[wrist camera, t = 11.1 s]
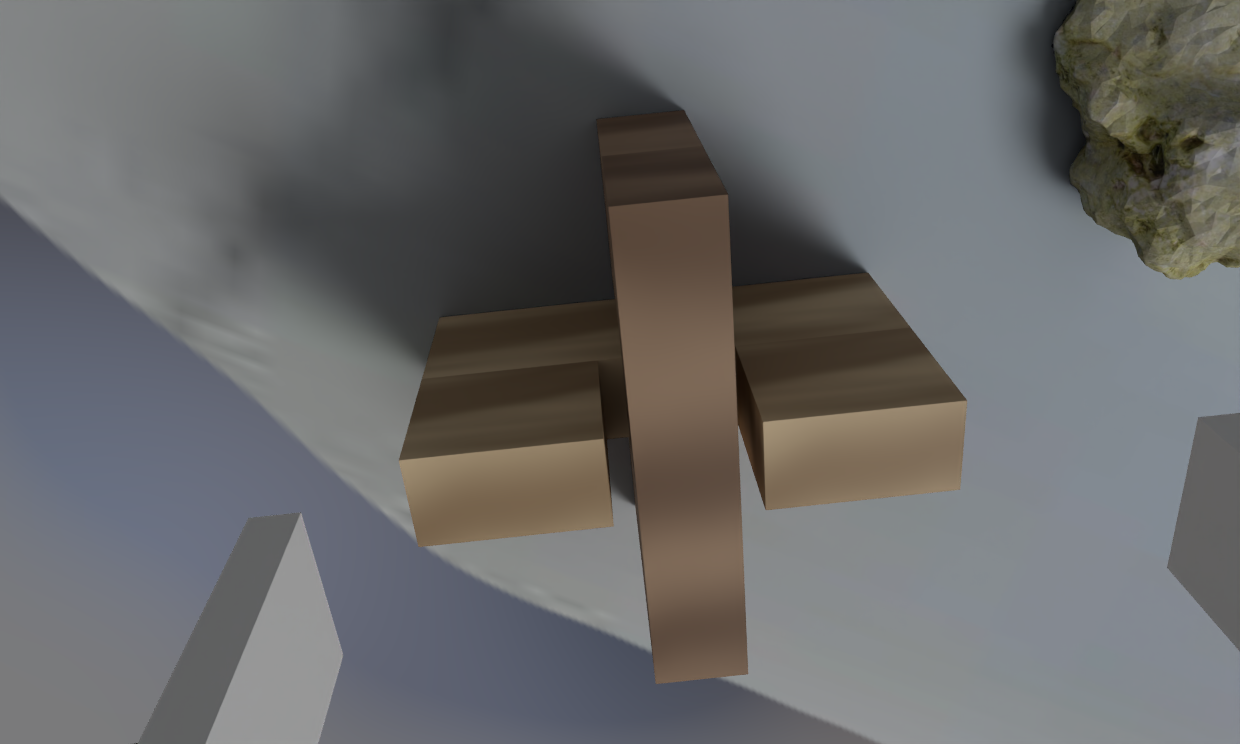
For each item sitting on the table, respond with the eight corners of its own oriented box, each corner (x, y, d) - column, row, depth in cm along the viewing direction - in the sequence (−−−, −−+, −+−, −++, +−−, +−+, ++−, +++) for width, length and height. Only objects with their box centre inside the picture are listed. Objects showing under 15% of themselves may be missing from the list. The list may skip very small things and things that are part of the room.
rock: (1234, -164, 31) (976, 24, 32) (1419, -193, 26) (1100, 36, 26) (1318, 113, 36) (1090, 272, 37) (1491, 141, 30) (1217, 329, 31)
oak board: (439, 317, 36) (398, 460, 27) (867, 272, 36) (966, 400, 27) (453, 388, 38) (418, 547, 29) (866, 345, 38) (960, 489, 29)
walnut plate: (596, 119, 33) (608, 206, 24) (684, 110, 33) (728, 194, 24) (635, 506, 40) (655, 683, 32) (707, 499, 40) (748, 674, 32)
